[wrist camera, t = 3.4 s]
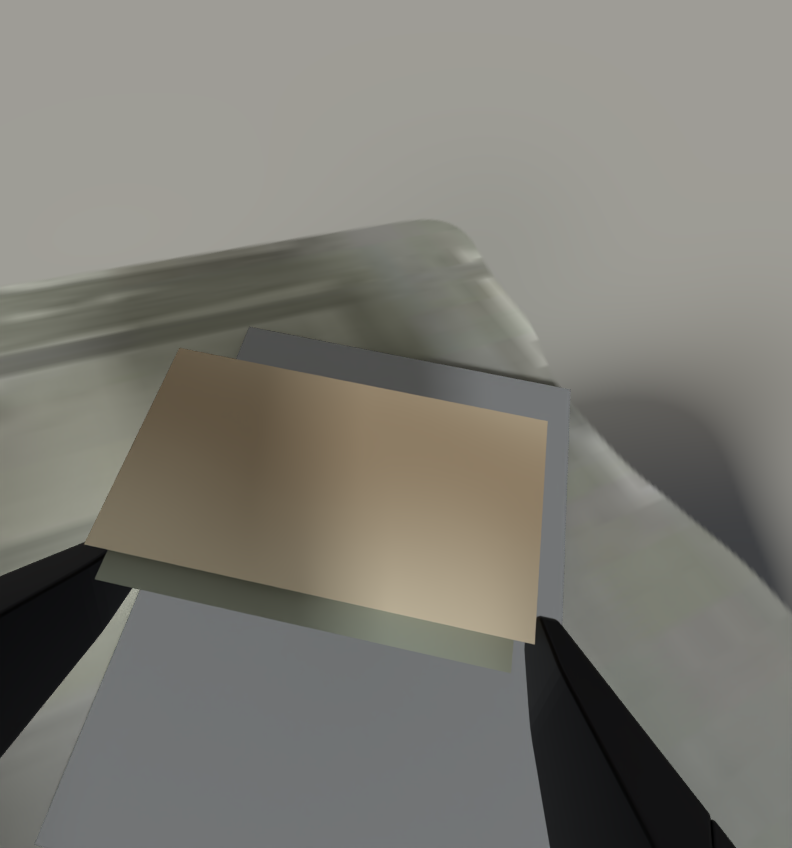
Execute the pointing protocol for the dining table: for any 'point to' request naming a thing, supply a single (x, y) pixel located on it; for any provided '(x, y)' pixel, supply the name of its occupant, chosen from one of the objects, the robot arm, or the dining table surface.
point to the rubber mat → (316, 696)
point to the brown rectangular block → (333, 508)
